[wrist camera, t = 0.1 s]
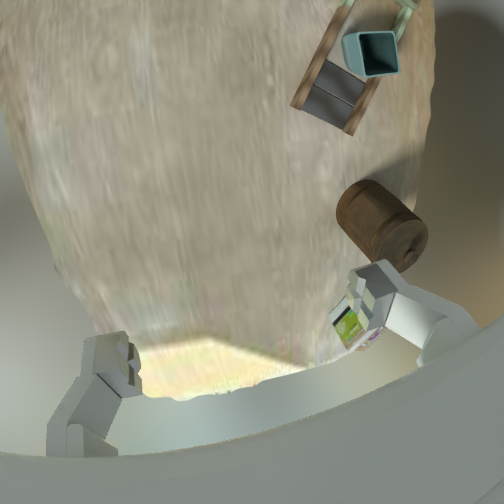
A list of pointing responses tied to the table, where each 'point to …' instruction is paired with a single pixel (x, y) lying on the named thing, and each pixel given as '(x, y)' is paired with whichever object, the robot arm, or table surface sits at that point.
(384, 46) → the flower pot
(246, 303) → the table surface
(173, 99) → the table surface
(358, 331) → the tea box
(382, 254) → the wooden container
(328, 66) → the channel
